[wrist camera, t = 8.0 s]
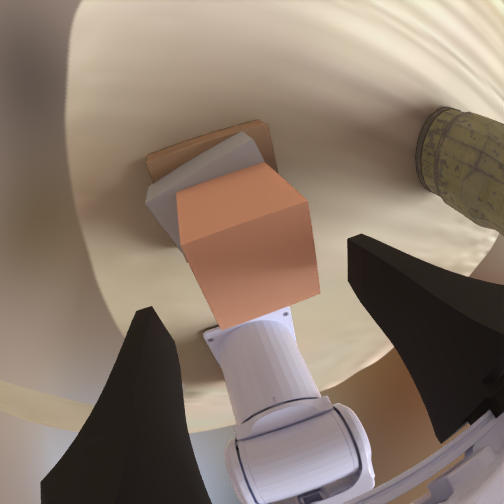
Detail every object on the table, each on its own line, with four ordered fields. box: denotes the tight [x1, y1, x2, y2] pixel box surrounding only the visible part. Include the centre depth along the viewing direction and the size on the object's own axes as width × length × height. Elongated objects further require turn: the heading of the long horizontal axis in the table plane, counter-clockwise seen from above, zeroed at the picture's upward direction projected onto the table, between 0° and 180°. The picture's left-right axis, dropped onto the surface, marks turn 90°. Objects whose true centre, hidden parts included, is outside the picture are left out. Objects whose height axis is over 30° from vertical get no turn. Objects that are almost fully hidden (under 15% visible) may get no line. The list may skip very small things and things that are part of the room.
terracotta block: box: [176, 162, 320, 330], centre depth 13 cm, size 4×4×5 cm
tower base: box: [146, 120, 278, 263], centre depth 18 cm, size 7×7×2 cm
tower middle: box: [145, 131, 265, 257], centre depth 16 cm, size 6×6×2 cm
